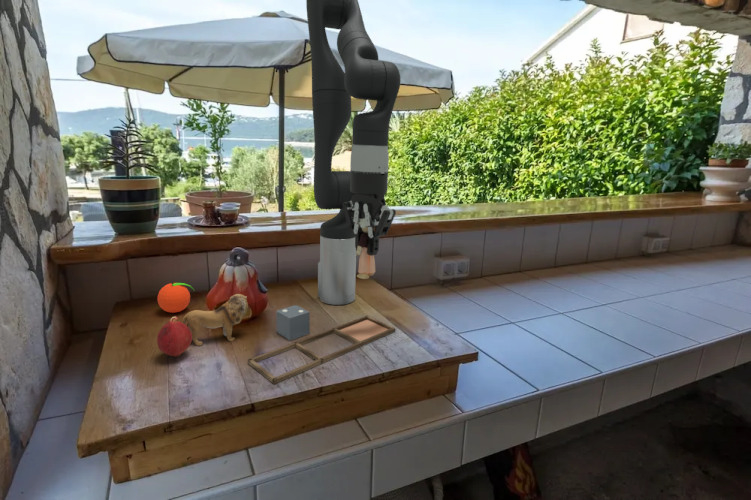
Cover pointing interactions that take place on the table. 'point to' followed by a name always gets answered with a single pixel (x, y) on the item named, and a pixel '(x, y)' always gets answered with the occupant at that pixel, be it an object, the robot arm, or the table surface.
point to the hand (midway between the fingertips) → (366, 252)
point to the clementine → (174, 297)
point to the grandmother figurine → (365, 254)
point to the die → (293, 322)
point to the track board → (353, 331)
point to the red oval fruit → (174, 337)
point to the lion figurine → (218, 317)
